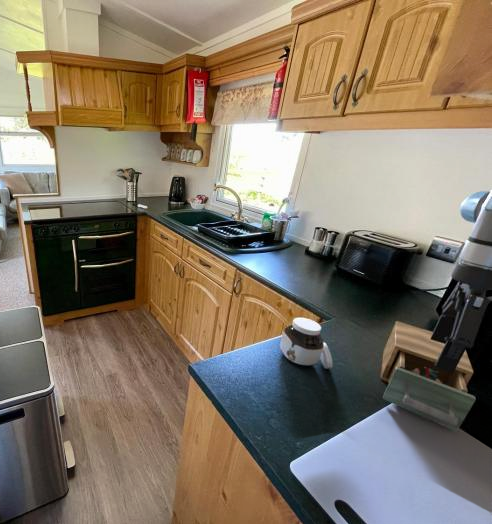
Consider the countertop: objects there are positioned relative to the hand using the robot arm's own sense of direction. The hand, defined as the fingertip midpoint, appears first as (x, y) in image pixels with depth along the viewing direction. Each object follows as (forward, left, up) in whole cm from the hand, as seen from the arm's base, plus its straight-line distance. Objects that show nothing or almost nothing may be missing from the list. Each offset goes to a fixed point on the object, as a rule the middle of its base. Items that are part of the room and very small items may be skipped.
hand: (440, 354), depth 64 cm
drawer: (0, +1, -13) cm, 13 cm away
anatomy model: (0, -1, -9) cm, 9 cm away
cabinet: (0, -13, -14) cm, 19 cm away
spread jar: (+24, +2, -15) cm, 28 cm away
